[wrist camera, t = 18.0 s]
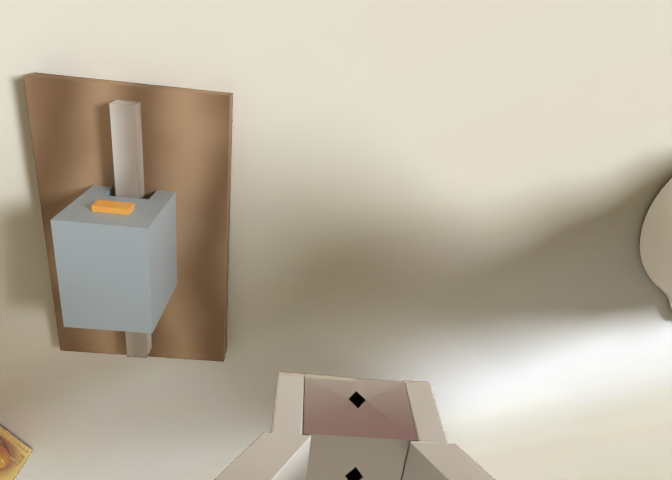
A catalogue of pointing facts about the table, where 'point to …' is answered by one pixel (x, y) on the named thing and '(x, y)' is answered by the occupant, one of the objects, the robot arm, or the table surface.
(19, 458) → the candy box
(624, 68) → the table surface
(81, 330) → the rail board
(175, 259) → the block
